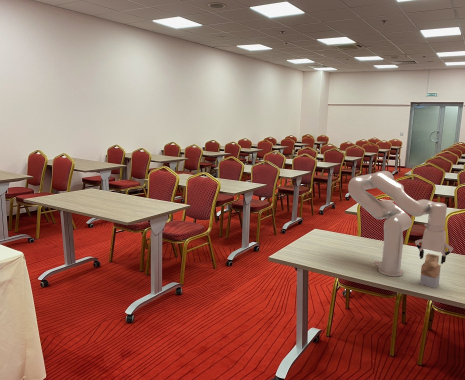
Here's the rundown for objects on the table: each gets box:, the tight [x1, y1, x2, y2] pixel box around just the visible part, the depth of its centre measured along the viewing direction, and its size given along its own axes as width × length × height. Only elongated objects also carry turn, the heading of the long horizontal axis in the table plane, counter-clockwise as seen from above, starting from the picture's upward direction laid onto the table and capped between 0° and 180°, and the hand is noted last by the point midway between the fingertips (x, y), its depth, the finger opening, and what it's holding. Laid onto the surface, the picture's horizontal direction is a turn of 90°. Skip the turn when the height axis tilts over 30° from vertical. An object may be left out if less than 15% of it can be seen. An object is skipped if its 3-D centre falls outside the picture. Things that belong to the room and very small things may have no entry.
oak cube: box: [424, 253, 440, 268], centre depth 196 cm, size 5×5×5 cm
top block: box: [420, 262, 442, 278], centre depth 197 cm, size 7×7×5 cm
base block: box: [419, 274, 441, 289], centre depth 198 cm, size 7×7×5 cm
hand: (431, 260), depth 196 cm, fingers open, 9 cm apart
